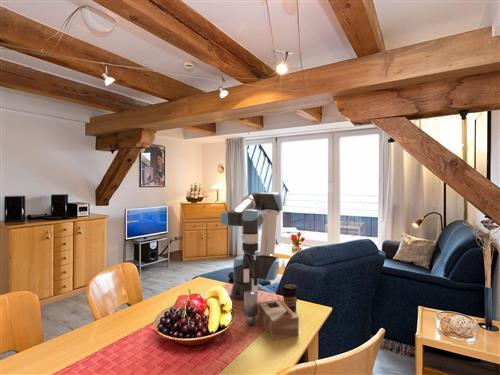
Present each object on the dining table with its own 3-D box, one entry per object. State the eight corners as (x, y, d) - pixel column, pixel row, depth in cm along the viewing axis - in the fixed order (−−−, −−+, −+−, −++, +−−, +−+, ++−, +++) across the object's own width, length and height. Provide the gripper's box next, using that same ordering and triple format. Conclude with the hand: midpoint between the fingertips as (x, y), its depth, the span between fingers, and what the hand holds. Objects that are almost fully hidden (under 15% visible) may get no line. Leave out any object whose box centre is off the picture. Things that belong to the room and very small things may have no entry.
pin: (242, 321, 135) (242, 291, 134) (255, 319, 137) (254, 289, 136) (246, 328, 129) (246, 296, 128) (259, 326, 130) (259, 294, 130)
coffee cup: (299, 314, 142) (299, 289, 142) (283, 314, 142) (283, 289, 142) (297, 306, 151) (296, 283, 150) (281, 306, 151) (281, 283, 151)
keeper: (276, 296, 126) (277, 295, 127) (286, 311, 128) (288, 309, 128) (280, 301, 122) (282, 299, 122) (291, 315, 123) (293, 314, 124)
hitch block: (258, 318, 138) (257, 302, 138) (280, 314, 141) (280, 299, 141) (273, 340, 119) (273, 321, 119) (298, 335, 122) (298, 317, 122)
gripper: (236, 238, 143) (236, 279, 143) (250, 248, 119) (250, 297, 119) (250, 237, 145) (250, 277, 145) (267, 247, 121) (267, 295, 121)
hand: (250, 286), depth 132 cm, fingers open, 13 cm apart
